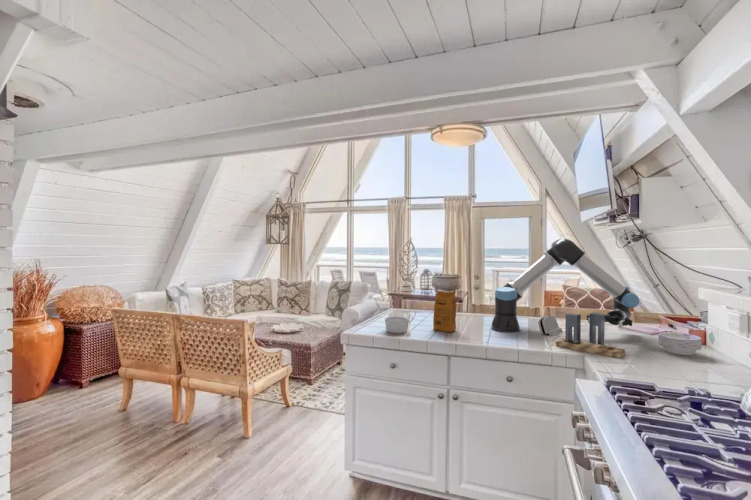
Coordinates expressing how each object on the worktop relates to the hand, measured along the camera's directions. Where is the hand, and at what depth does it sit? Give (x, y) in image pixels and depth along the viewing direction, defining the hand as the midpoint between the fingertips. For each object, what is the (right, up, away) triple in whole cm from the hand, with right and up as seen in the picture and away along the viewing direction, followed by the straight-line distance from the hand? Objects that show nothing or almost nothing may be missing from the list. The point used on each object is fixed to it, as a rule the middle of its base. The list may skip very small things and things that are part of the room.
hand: (603, 322), depth 187 cm
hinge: (-17, -10, +22) cm, 29 cm away
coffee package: (-75, -9, +25) cm, 79 cm away
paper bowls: (+23, -11, -17) cm, 31 cm away
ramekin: (-102, -9, +21) cm, 104 cm away
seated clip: (-20, -10, -9) cm, 24 cm away
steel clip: (-7, -10, -7) cm, 14 cm away
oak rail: (-15, -10, -14) cm, 23 cm away
